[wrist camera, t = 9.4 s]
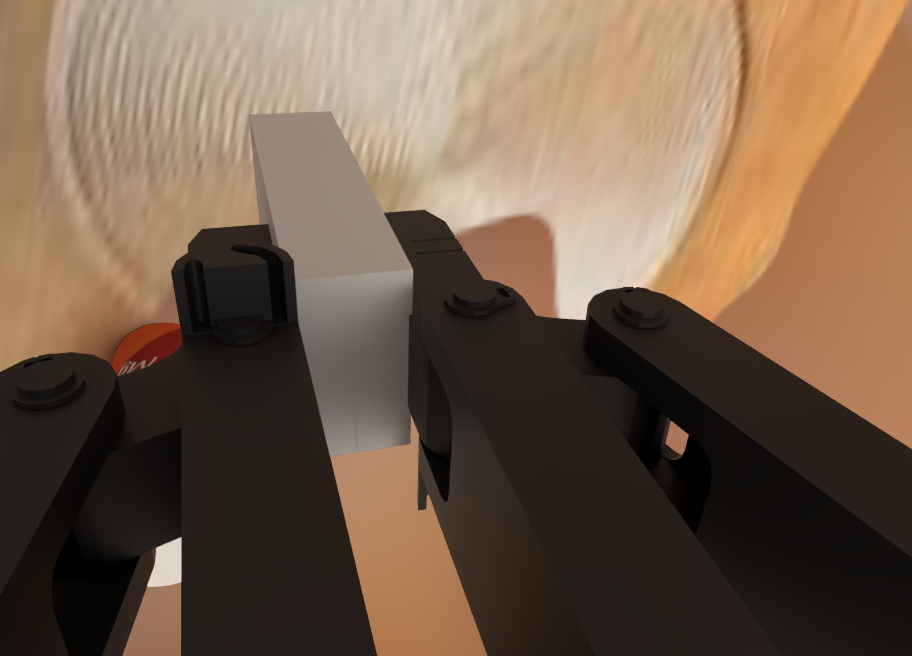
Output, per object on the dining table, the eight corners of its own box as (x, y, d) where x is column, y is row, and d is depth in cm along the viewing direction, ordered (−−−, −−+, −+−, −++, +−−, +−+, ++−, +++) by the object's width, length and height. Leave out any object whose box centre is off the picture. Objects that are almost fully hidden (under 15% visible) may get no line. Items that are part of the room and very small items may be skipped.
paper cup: (103, 295, 43) (73, 462, 31) (244, 317, 46) (263, 475, 34) (85, 409, 46) (52, 597, 35) (218, 422, 49) (227, 598, 38)
